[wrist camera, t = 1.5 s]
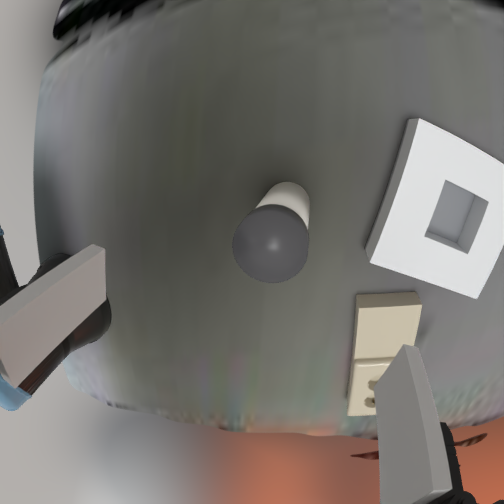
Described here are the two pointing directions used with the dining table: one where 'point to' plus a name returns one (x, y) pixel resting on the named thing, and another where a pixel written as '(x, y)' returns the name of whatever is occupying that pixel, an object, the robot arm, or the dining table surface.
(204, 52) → the dining table surface
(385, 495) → the robot arm
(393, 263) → the socket block
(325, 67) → the dining table surface
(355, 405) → the electrical outlet
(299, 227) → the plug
